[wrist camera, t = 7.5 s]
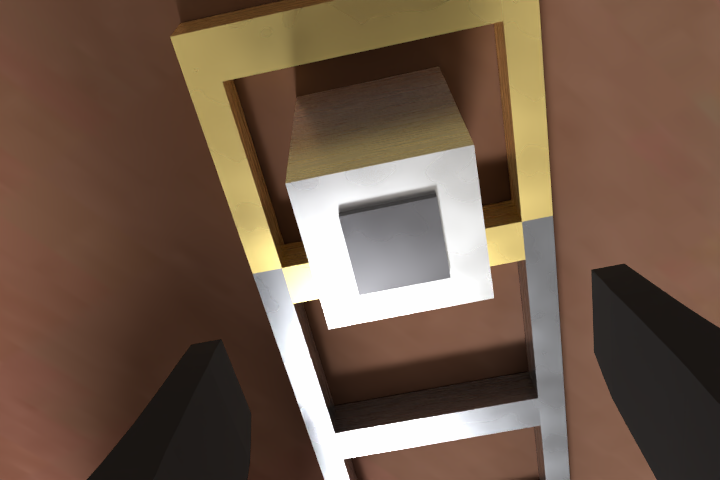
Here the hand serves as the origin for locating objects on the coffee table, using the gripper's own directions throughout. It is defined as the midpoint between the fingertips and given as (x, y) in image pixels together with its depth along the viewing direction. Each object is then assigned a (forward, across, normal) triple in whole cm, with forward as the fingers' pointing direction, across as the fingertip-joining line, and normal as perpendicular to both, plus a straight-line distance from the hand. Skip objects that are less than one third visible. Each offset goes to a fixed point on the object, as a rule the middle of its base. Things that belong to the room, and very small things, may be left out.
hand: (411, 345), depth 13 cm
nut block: (+10, 0, 0) cm, 10 cm away
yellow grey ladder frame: (+10, 0, +8) cm, 13 cm away
